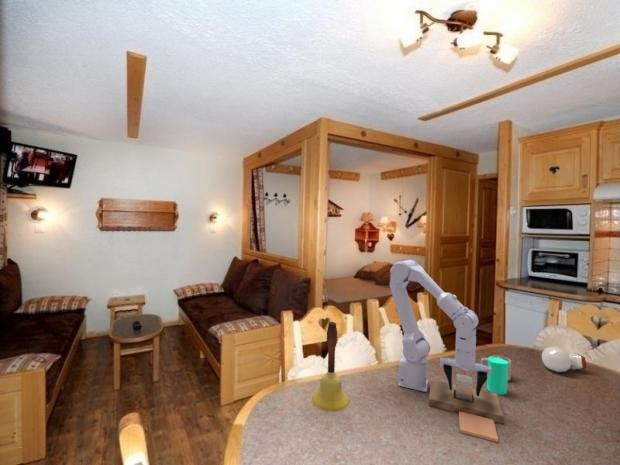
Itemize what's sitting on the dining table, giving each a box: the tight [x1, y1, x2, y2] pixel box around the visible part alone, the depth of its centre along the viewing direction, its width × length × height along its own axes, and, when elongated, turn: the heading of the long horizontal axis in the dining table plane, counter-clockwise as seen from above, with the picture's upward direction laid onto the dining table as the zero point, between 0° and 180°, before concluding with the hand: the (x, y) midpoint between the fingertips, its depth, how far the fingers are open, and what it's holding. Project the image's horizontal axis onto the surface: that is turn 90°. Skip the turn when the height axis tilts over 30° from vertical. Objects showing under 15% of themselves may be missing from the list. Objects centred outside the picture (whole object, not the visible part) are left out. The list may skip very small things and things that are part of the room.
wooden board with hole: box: [428, 379, 505, 425], centre depth 98 cm, size 20×13×2 cm, turn 66°
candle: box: [486, 355, 508, 396], centre depth 106 cm, size 6×6×12 cm
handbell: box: [311, 321, 350, 412], centre depth 98 cm, size 12×12×25 cm
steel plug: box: [454, 373, 474, 403], centre depth 98 cm, size 4×4×8 cm
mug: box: [480, 355, 512, 382], centre depth 117 cm, size 10×7×7 cm
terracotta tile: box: [458, 411, 499, 443], centre depth 86 cm, size 9×9×1 cm
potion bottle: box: [541, 345, 587, 373], centre depth 122 cm, size 9×10×15 cm
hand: (463, 391), depth 98 cm, fingers open, 7 cm apart
